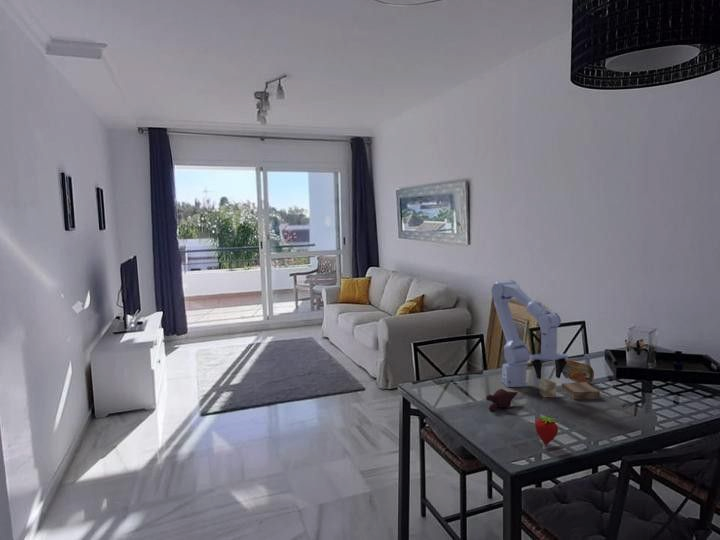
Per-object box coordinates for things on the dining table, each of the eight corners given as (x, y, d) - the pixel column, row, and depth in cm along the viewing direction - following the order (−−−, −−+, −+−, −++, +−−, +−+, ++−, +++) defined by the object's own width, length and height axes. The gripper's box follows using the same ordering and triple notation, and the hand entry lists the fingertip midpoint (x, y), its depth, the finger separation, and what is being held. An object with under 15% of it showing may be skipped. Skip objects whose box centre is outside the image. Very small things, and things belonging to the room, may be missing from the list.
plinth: (573, 399, 179) (574, 392, 179) (561, 390, 189) (561, 383, 188) (599, 398, 179) (599, 391, 179) (585, 389, 189) (586, 382, 189)
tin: (560, 376, 206) (560, 357, 205) (565, 375, 208) (565, 356, 207) (589, 386, 193) (590, 366, 192) (595, 385, 194) (595, 365, 193)
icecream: (508, 383, 180) (479, 393, 173) (522, 384, 174) (492, 395, 167) (512, 401, 180) (483, 412, 173) (527, 402, 173) (497, 414, 166)
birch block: (544, 398, 181) (544, 383, 181) (539, 393, 186) (540, 379, 185) (555, 397, 181) (556, 382, 181) (550, 393, 186) (551, 378, 185)
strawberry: (544, 437, 149) (545, 406, 148) (562, 447, 142) (563, 415, 141) (529, 440, 147) (530, 409, 146) (547, 451, 140) (547, 419, 139)
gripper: (534, 347, 177) (534, 381, 179) (572, 346, 178) (571, 380, 179) (527, 342, 184) (527, 375, 186) (563, 341, 185) (562, 374, 186)
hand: (548, 377), depth 183 cm, fingers open, 7 cm apart
